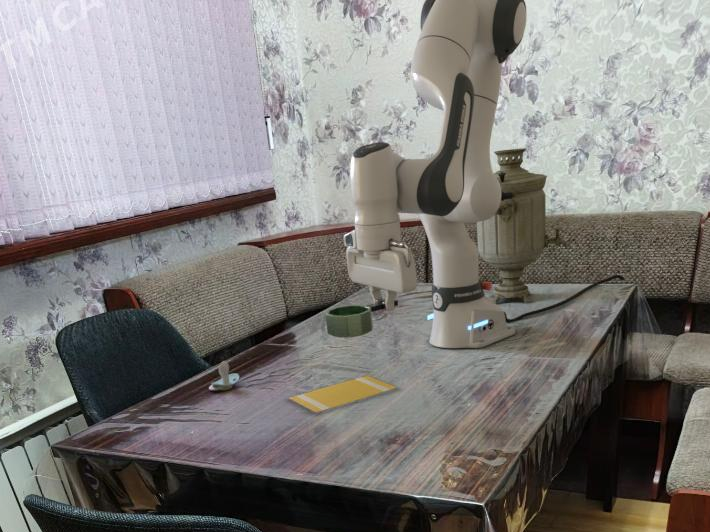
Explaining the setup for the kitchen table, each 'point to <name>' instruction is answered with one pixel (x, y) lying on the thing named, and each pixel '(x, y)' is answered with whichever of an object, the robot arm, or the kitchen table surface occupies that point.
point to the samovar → (515, 225)
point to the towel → (342, 393)
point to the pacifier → (224, 378)
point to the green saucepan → (352, 319)
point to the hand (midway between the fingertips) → (384, 309)
